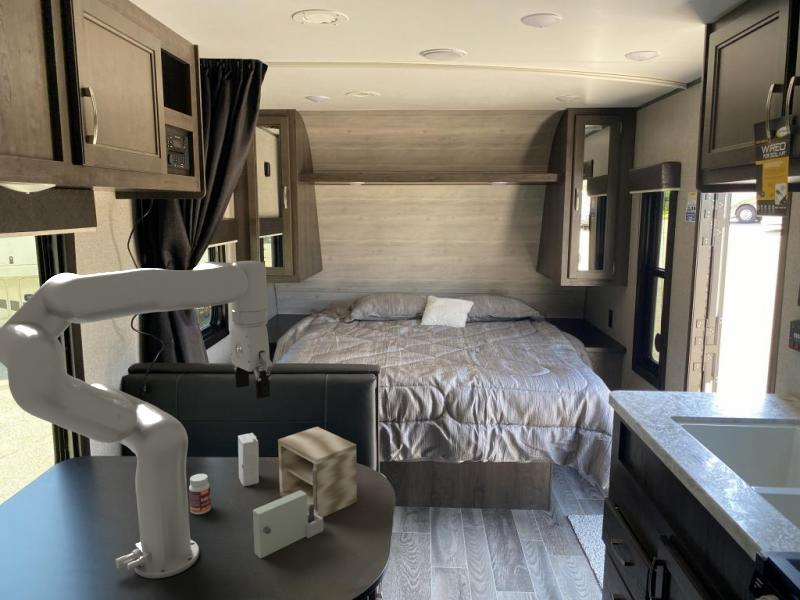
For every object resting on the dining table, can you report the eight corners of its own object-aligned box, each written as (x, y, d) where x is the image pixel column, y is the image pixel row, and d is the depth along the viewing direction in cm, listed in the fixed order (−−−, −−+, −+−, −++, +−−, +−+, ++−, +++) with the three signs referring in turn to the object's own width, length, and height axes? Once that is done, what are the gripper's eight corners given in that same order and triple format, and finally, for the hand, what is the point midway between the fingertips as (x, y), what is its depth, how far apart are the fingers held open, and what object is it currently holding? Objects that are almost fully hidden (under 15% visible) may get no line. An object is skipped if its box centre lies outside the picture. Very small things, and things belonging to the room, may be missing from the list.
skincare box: (238, 477, 154) (236, 435, 152) (254, 473, 157) (252, 432, 155) (243, 487, 149) (241, 443, 147) (260, 483, 151) (258, 440, 149)
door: (263, 560, 119) (261, 516, 117) (252, 551, 122) (250, 508, 120) (323, 530, 129) (322, 489, 128) (312, 523, 132) (311, 483, 131)
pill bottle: (204, 515, 135) (202, 482, 134) (186, 513, 136) (184, 480, 135) (214, 505, 140) (213, 473, 139) (197, 503, 141) (195, 471, 140)
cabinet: (311, 532, 129) (309, 469, 126) (265, 501, 142) (263, 444, 140) (365, 506, 140) (364, 448, 137) (318, 479, 153) (317, 426, 151)
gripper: (216, 313, 130) (219, 386, 132) (252, 325, 117) (255, 405, 120) (247, 309, 135) (249, 379, 137) (284, 321, 122) (286, 398, 125)
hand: (252, 391), depth 129 cm, fingers open, 9 cm apart
